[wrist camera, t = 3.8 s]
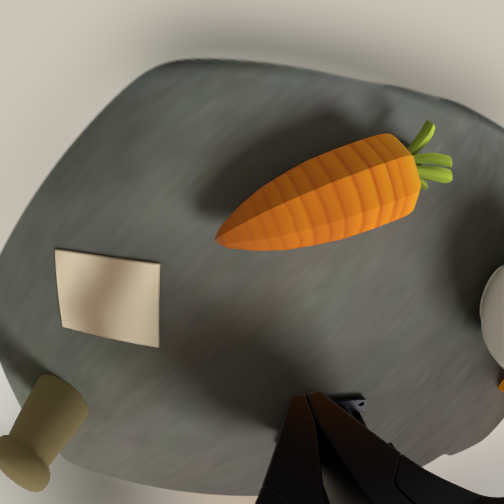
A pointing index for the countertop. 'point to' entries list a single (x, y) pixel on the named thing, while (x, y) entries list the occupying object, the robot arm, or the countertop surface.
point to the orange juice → (501, 386)
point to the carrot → (336, 194)
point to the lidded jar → (494, 315)
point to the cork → (41, 432)
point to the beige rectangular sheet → (109, 296)
